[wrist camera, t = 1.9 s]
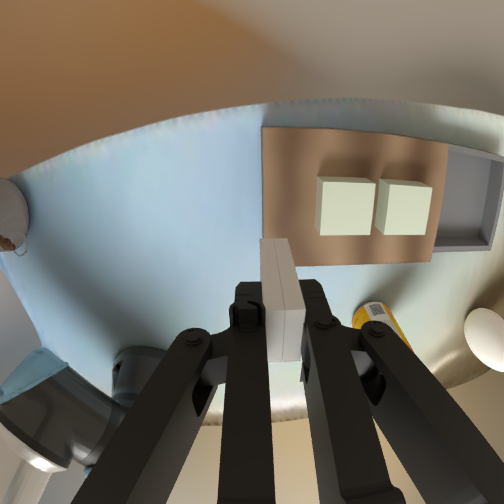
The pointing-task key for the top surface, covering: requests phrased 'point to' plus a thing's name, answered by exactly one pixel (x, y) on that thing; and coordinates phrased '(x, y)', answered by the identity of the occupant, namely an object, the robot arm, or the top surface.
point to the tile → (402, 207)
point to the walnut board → (344, 165)
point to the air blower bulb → (486, 337)
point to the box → (470, 200)
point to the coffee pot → (12, 217)
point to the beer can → (377, 317)
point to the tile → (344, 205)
